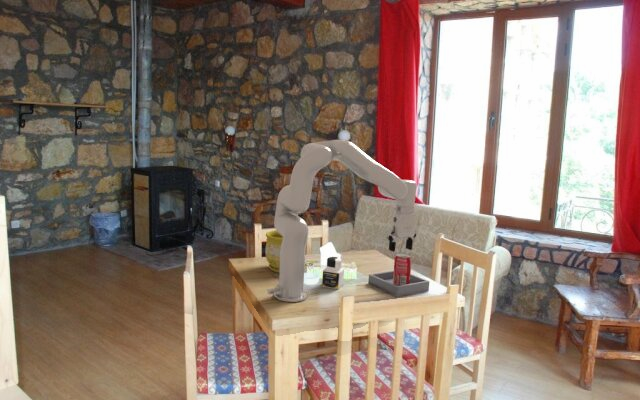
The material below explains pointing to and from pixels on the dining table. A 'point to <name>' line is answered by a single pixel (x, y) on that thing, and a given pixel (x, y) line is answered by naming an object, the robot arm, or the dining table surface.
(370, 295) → the dining table surface
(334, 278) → the medicine bottle
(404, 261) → the soda can
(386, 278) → the tray
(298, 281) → the robot arm
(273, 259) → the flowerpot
